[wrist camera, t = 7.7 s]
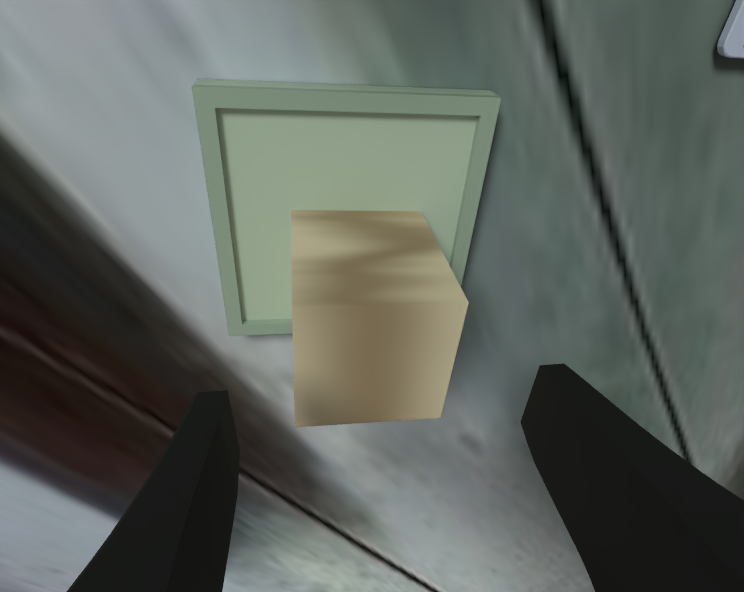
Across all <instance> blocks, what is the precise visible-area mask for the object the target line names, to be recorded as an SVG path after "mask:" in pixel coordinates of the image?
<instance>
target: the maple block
mask: <svg viewBox="0 0 744 592" xmlns="http://www.w3.org/2000/svg"><path fill="white" fill-rule="evenodd" d="M291 253H292V329H293V365H294V401H295V427H306V426H321V425H337V424H352V423H368V422H383V421H399V420H414V419H429V418H440V417H441V413H442V409H443V405H444V401H445V397H446V393H447V389H448V385H449V381H450V377H451V373H452V369H453V365H454V361H455V356H456V352H457V348H458V344H459V340H460V336H461V332H462V328H463V324H464V320H465V316H466V312H467V308H468V304H469V302H468V300H467V298H466V296H465V294H464V293H463V291H462V289H461V287H460V285H459V283H458V281H457V279H456V277H455V275H454V273H453V271H452V269H451V268H450V266H449V264H448V262H447V260H446V258H445V256H444V254H443V252H442V250H441V248H440V246H439V244H438V242H437V241H436V239H435V237H434V235H433V233H432V231H431V229H430V227H429V225H428V223H427V221H426V219H425V217H424V216H423V214H422V212H421V211H345V210H291Z"/></svg>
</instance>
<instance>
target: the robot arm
mask: <svg viewBox="0 0 744 592" xmlns="http://www.w3.org/2000/svg"><path fill="white" fill-rule="evenodd" d="M743 46H744V0H736V2H735V4H734V6H733V9H732V11H731V13H730V16H729V18H728V20H727V22H726V25H725V27H724V29H723V31H722V34H721V36H720V38H719V41H718V44H717V51H718V53H719V54H720V55H722V56H725V57H729V58H744V48H743ZM521 425H522V428H523V431H524V434H525V437H526V440H527V443H528V446H529V449H530V451H531V454H532V457H533V460H534V462H535V464H536V467H537V469H538V471H539V473H540V475H541V477H542V479H543V481H544V483H545V485H546V487H547V489H548V491H549V494H550V496H551V498H552V500H553V502H554V504H555V506H556V508H557V510H558V512H559V514H560V516H561V518H562V520H563V522H564V524H565V526H566V528H567V530H568V532H569V534H570V536H571V538H572V540H573V542H574V544H575V546H576V548H577V550H578V552H579V554H580V556H581V559H582V561H583V563H584V565H585V567H586V570H587V572H588V574H589V577H590V579H591V582H592V584H593V587H594V589H595V592H744V500H742V499H741V498H739V497H738V496H736V495H735V494H733V493H731V492H730V491H728V490H727V489H725V488H724V487H722V486H721V485H719V484H718V483H716V482H715V481H714V480H712V479H711V478H709V477H708V476H706V475H705V474H703V473H702V472H701V471H699V470H698V469H696V468H695V467H694V466H692V465H691V464H690V463H688V462H687V461H686V460H684V459H683V458H681V457H680V456H679V455H677V454H676V453H675V452H673V451H672V450H671V449H669V448H668V447H667V446H665V445H664V444H663V443H661V442H660V441H659V440H658V439H656V438H655V437H654V436H652V435H651V434H650V433H649V432H647V431H646V430H645V429H643V428H642V427H641V426H640V425H638V424H637V423H636V422H635V421H633V420H632V419H631V418H630V417H629V416H627V415H626V414H625V413H624V412H622V411H621V410H620V409H619V408H618V407H616V406H615V405H614V404H613V403H611V402H610V401H609V400H608V399H607V398H605V397H604V396H603V395H602V394H601V393H599V392H598V391H597V390H596V389H595V388H593V387H592V386H591V385H590V384H589V383H587V382H586V381H585V380H584V379H583V378H581V377H580V376H579V375H578V374H576V373H575V372H574V371H573V370H571V369H570V368H569V367H568V366H566V365H565V364H553V365H540V367H539V369H538V372H537V375H536V378H535V381H534V384H533V387H532V390H531V393H530V396H529V399H528V402H527V405H526V408H525V410H524V413H523V416H522V419H521ZM239 453H240V448H239V443H238V439H237V434H236V429H235V425H234V420H233V415H232V410H231V406H230V401H229V396H228V392H227V390H225V391H212V392H199V393H197V394H196V395H195V396H194V397H193V399H192V401H191V403H190V405H189V407H188V409H187V411H186V413H185V415H184V417H183V419H182V420H181V422H180V424H179V426H178V428H177V430H176V431H175V433H174V435H173V437H172V439H171V440H170V442H169V444H168V445H167V447H166V449H165V451H164V452H163V454H162V456H161V457H160V459H159V461H158V462H157V464H156V465H155V467H154V469H153V470H152V472H151V474H150V475H149V477H148V478H147V480H146V482H145V483H144V485H143V486H142V488H141V490H140V491H139V493H138V494H137V496H136V497H135V499H134V500H133V502H132V503H131V504H130V506H129V507H128V509H127V510H126V512H125V513H124V515H123V516H122V518H121V519H120V521H119V522H118V523H117V525H116V526H115V528H114V529H113V531H112V532H111V534H110V535H109V536H108V538H107V539H106V541H105V542H104V543H103V545H102V546H101V547H100V549H99V550H98V552H97V553H96V554H95V556H94V557H93V558H92V560H91V561H90V562H89V564H88V565H87V566H86V567H85V569H84V570H83V571H82V573H81V574H80V575H79V576H78V578H77V579H76V580H75V582H74V583H73V584H72V585H71V587H70V588H69V589H68V591H67V592H222V589H223V583H224V576H225V570H226V564H227V558H228V551H229V545H230V539H231V533H232V526H233V520H234V514H235V507H236V501H237V493H238V475H239Z"/></svg>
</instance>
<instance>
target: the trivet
mask: <svg viewBox="0 0 744 592" xmlns="http://www.w3.org/2000/svg"><path fill="white" fill-rule="evenodd" d="M192 92H193V99H194V105H195V112H196V119H197V125H198V132H199V139H200V145H201V152H202V159H203V165H204V172H205V179H206V185H207V192H208V199H209V205H210V212H211V219H212V225H213V232H214V239H215V245H216V252H217V259H218V265H219V272H220V279H221V285H222V292H223V299H224V305H225V312H226V319H227V325H228V332H229V336H245V335H268V334H291V333H293V329H292V253H291V210H345V211H421V212H422V214H423V216H424V217H425V219H426V221H427V223H428V225H429V227H430V229H431V231H432V233H433V235H434V237H435V239H436V241H437V242H438V244H439V246H440V248H441V250H442V252H443V254H444V256H445V258H446V260H447V262H448V264H449V266H450V268H451V269H452V271H453V273H454V275H455V277H456V279H457V281H458V283H459V285H460V287H461V285H462V280H463V275H464V271H465V266H466V261H467V256H468V252H469V247H470V242H471V238H472V233H473V228H474V224H475V219H476V214H477V210H478V205H479V200H480V196H481V191H482V186H483V181H484V177H485V172H486V167H487V163H488V158H489V153H490V149H491V144H492V139H493V135H494V130H495V125H496V120H497V116H498V111H499V106H500V102H501V97H499V96H498V95H496V94H495V93H493V92H492V91H490V90H467V89H441V88H415V87H389V86H363V85H337V84H311V83H285V82H260V81H234V80H208V79H197V80H196V82H195V83H194V84H193V86H192Z"/></svg>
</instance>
